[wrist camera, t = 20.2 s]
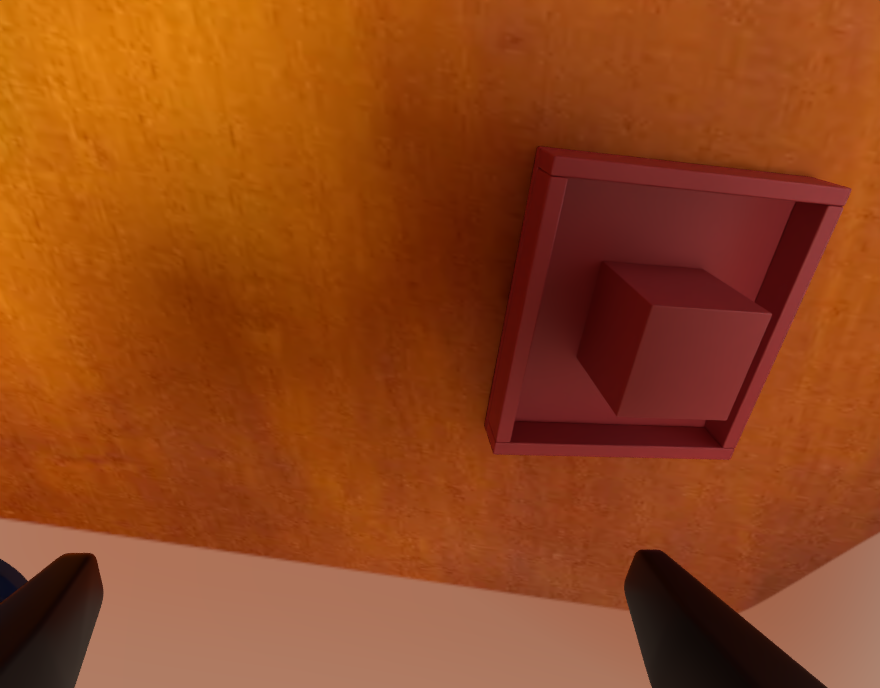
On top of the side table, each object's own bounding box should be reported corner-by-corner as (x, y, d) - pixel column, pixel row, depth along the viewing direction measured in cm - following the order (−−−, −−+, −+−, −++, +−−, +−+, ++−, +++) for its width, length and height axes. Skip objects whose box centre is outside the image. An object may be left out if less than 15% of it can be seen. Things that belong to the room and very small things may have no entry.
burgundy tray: (706, 432, 25) (730, 460, 23) (483, 426, 23) (493, 455, 21) (812, 176, 20) (853, 188, 18) (537, 145, 18) (554, 155, 16)
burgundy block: (670, 362, 22) (727, 421, 19) (575, 357, 22) (616, 417, 18) (703, 268, 20) (773, 313, 17) (601, 260, 20) (651, 305, 16)
